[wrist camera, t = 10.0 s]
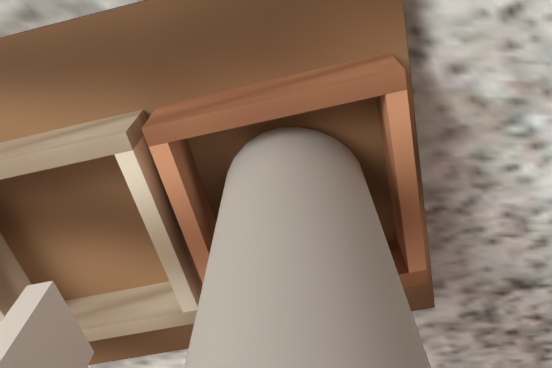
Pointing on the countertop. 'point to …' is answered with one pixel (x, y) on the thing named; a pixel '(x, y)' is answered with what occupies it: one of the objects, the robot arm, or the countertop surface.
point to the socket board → (186, 147)
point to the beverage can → (301, 266)
